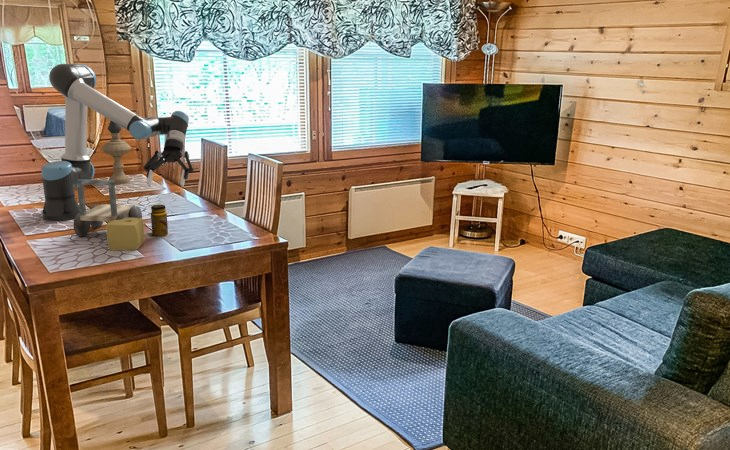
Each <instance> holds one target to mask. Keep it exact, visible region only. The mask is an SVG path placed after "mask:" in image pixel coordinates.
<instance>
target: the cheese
mask: <svg viewBox="0 0 730 450" xmlns="http://www.w3.org/2000/svg"><path fill="white" fill-rule="evenodd" d="M105 226H106V228H105V229H106V232H105V233H106V239H107V240H106V241H107V244H108V248H109V251H136V250H138V249H139V248H140V247H141V245H143V244H144V243H145V233H144V232H145V231H144V221H143V217H142V218H123V219H120V220H113V221H111V222H110V221H108V222H107V224H106V225H105Z"/></svg>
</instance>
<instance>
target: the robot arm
mask: <svg viewBox="0 0 730 450" xmlns="http://www.w3.org/2000/svg"><path fill="white" fill-rule="evenodd" d="M48 79H49V83H50V84H51V87H53V88H54V89H55V90H56V91H57V92H58V93H60V94H61V96H62V97H63V98H64V99H65V100H64V101H65V104H64V105H65V108H64V109H65V110H64V111H65V115H64V116H65V117H64V118H65V123H64V124H65V125H64V126H65V127H64V128H65V131H64V135H65V137H64V153H63V154H62V155H61V158H60V160H56V161H49V162H47V163H45V164H43V166H41V174H40V175H41V179H42V187H43V188H42V189H43V194H44V203H43V207H42V208H43V209H42V212H41V215H42V219H43V220H46V221H53V222H56V221H68V220H69V221H70V220H74V219H75V216H76V215H77V214H78V213H80V208H79V202H78V200H77V198H76V194H75V193H76V192H75V189H77V181H76V180H78V179H85V180H94V179H93V178H94V176H95V173H96V172H95V171H96V170H95V166H94V165H93V164H92V162H91V156H89V155H88V153H87V151H88V150H87V149H88V147H87V145H88V144H87V141H88V139H87V138H88V108H90V109H91V110H93V111H95V112H96V113H98V114H100V115H101V116H102V117H104V118H106V119H108V120H109V121H113V122H115V123H116V124H118V125H120V126H121V128H123V129H125V130H126V131H128V132H129V134H130V135H131V137H132V138H134V139H135V140H138V141H139V140H147V139H149V138H152V137H156V136H161V135H166V137H165V142H164V145H163V146H164V147H163V150H162V152H160V151H158V150H155V151H154V154H153V155H152V157H151V158H150V159H149V160H148V161H147V162H146V163H145V165H144V166H143V169H144V171H145V173H146V175H145V176H146V179H147V181H146V184H147V186H148V187H152V182H153V179H154V171H156V170H158V168H160V167H161V166H162V165H165V164H166V163H174V164H175V163H177V164H178V165H179V166H180V168H182V172H181V175H180V176H181V177H180V182H179V184H180V186H181V188H184V186H185V182H186V180H188V178H189V174H190V173H194V172H195V171H194V169H193V165H192V163H191V160H190V154H189V152H188V151H187V150H185V151H184V152H183V150H184V145H185V142H186V141H185V140H186V134H187V132H188V127H189V121H190V119H189V116H188V114H187V113H186V112H184V111H182V110H181V111H180V110H175V111H173V112H172V113H171V115H170V116H164V117H162V116H161V117H158V116H157V117H152V116H151V117H141V116H139V115H138V114H137V113H135V112H133V111H131V110H130V109H128V108H126V107H124V106H123V105H121V104H120V103H118V102H117V101H115V100H113V99H111V98H110V97H109V96H107V95H105V94H103V93H102V92H100V91H98V90H96V89H95V87H96V85H97V76H96V73H95V72H94V71H93V69H92V68H90V67H89V66H88V65H85V64H82V63H60V64H59V63H58V64H57V65H56V64H55V66H53V67H52V68H51V70H50V71H49V76H48ZM181 158H184V159H185V161H186V163H187V166H188V167H187V166H186V165H185V164H184V162H183V161H182V160H181ZM83 186H85V185H84V184H83Z"/></svg>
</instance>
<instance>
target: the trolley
mask: <svg viewBox="0 0 730 450" xmlns="http://www.w3.org/2000/svg"><path fill="white" fill-rule="evenodd" d="M76 181H77V187H76V189H77V198H78V205H79V208H80V213H78V214H77V215H76V216H75V218H74V219H73V231H74V233H75V235H76V236H78V237H86V236H88V234H89V232H90V229H91V227H92V228H101V227H102V226H103V224H104V222H111V221H113V220H120V219H123V218H142V219H143V213H142V209H141V208H140V207H139V206H135V204H133V205H132V204H117V199H116V198H117V197H116V189H115V188H116V186H115V185H116V184H114V180H109V179H92V180H85V179H78V180H76ZM83 184H84V185H83ZM85 185H88V186H89V185H92V186H108V194H109V204H106V203H101V204H99V205H92V206H91V207H90V209H89V210H87V206H86V199H85V197H86V196H85V190H84V189H85V188H84V186H85Z"/></svg>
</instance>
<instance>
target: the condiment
mask: <svg viewBox="0 0 730 450" xmlns="http://www.w3.org/2000/svg"><path fill="white" fill-rule="evenodd" d="M150 208H151V211H150V223H151V232H145V233H144V236H146V237H147V238H148V239H150V240H151V239H155V238H165V237H171V236H172V234H170V233H169V225H168V212H167V211H166V206H165V204H153V205H151V207H150Z"/></svg>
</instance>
